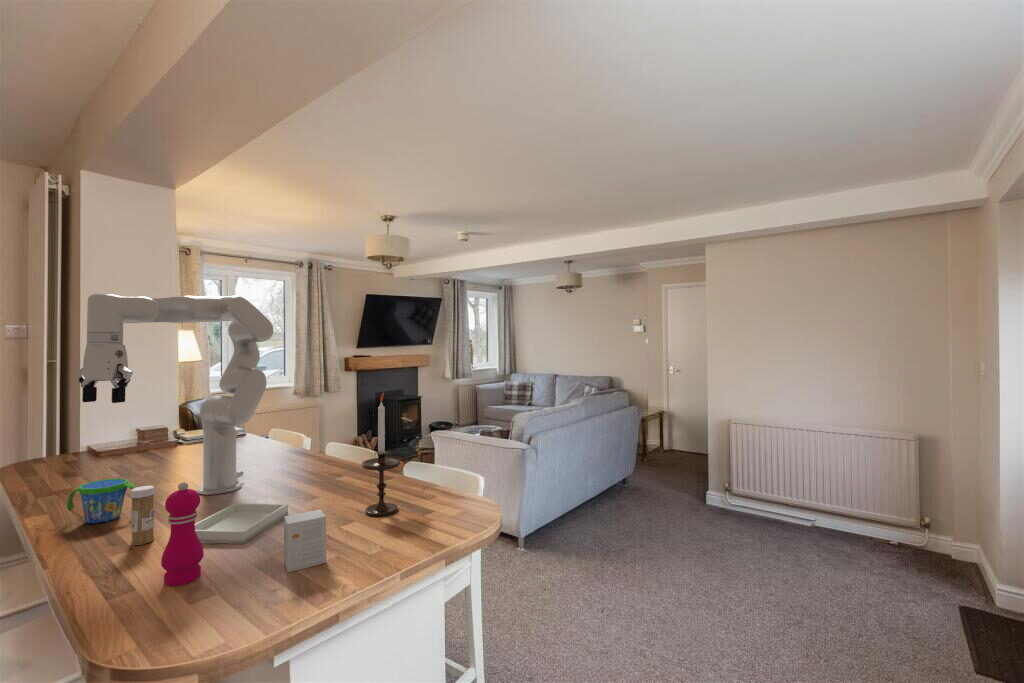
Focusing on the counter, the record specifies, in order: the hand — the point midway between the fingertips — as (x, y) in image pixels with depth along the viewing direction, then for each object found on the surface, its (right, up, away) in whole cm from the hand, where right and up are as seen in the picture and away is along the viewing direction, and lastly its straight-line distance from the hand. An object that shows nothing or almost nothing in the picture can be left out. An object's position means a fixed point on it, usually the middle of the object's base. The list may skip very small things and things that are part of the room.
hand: (103, 402), depth 127 cm
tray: (+39, -33, -3) cm, 51 cm away
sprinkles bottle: (+20, -33, -12) cm, 41 cm away
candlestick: (+73, -33, +9) cm, 81 cm away
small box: (+66, -33, -24) cm, 77 cm away
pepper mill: (+43, -33, -30) cm, 62 cm away
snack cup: (-3, -34, +3) cm, 34 cm away
